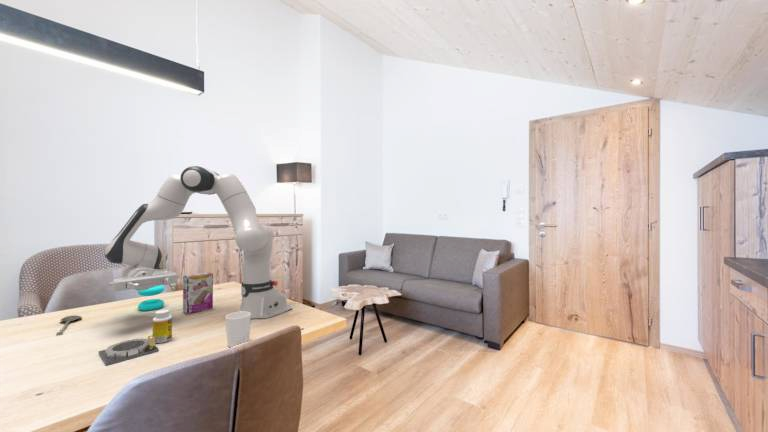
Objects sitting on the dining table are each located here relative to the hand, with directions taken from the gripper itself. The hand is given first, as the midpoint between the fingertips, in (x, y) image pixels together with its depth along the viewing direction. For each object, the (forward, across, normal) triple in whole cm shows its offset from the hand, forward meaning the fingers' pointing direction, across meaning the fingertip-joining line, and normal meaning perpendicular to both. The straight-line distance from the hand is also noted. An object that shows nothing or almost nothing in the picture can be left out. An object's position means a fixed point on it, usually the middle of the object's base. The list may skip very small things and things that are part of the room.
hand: (151, 284), depth 120 cm
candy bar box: (-15, +21, +18) cm, 32 cm away
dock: (+15, -10, +18) cm, 25 cm away
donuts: (-35, +8, +18) cm, 40 cm away
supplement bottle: (+12, 0, +18) cm, 21 cm away
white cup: (+35, +16, +18) cm, 42 cm away
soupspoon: (-32, -20, +19) cm, 43 cm away
